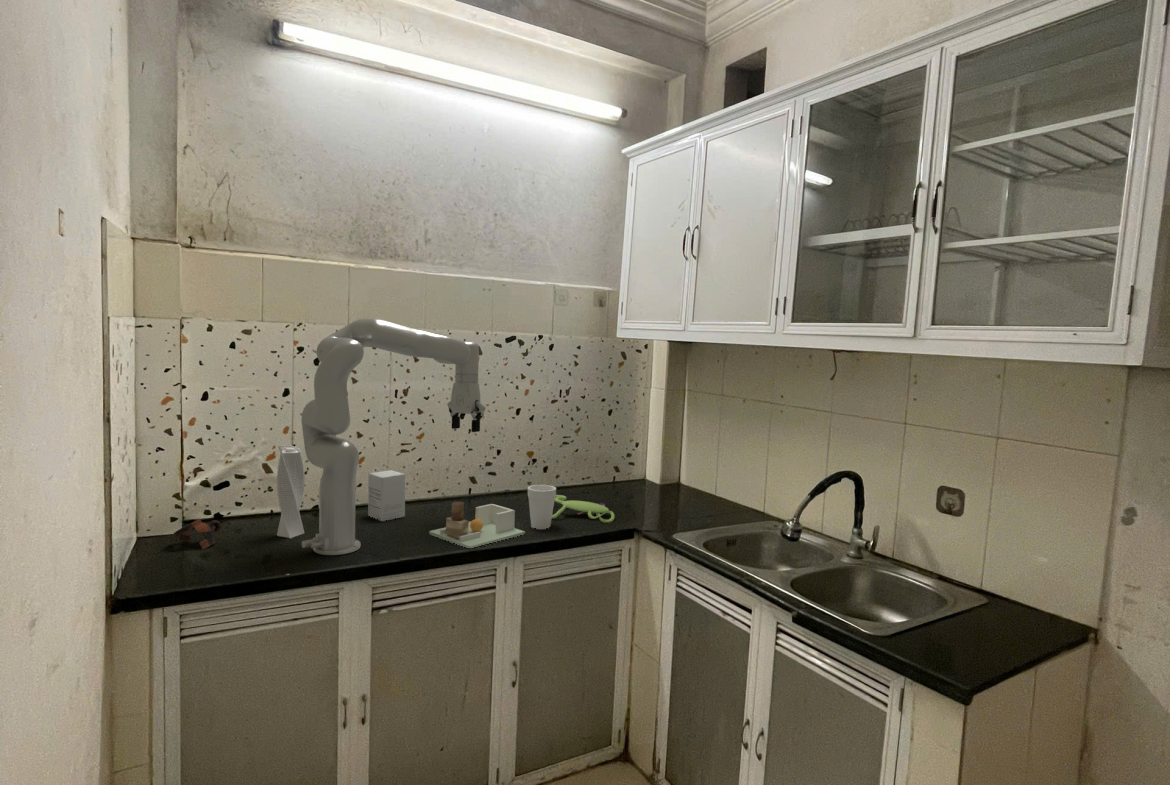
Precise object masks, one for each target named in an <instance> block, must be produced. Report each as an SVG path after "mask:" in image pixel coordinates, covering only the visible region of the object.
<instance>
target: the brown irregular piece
mask: <svg viewBox="0 0 1170 785" xmlns="http://www.w3.org/2000/svg"><path fill="white" fill-rule="evenodd" d="M213 526H214V527H215V528H214V530H213V529H212V527H213ZM194 530H195V531H196V532H197V533H198V534H202V536H203V537H204V539H202V541H199V542H198V544H199V545H200V547H201V549H202V550H204V549H207V548H209V547H210V546H213V545H216V537H217V535H218V534H219V533H220V532H221V530H222V523H221V521H219V520H216V519H214V520H210V521H209V522H206V523H205V522H203V521H202V520H201V519H197V520H194V521H193V522H191V523H188V524H187V525H185V526H183V527H181V528H180V529H179V528H178V530H176V531H174V532H173V535H174V536H175V538H174V542H180V541H183V542H184V543H186V542H188V543H189V542H190V541H191V540H192V538H191V536H192V532H193V531H194Z"/></svg>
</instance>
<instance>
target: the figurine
mask: <svg viewBox="0 0 1170 785" xmlns="http://www.w3.org/2000/svg"><path fill="white" fill-rule="evenodd" d="M554 503H558V504H561V506H562V507H560V508H559V509H558V511H556V513H554V514H552V519H555V518H557V517H559V516H560V515H561V514H562V512H564V511H565V510H566V508H567V509H570V510H575V511H579V512H577V515H581V514H584V513H587V517H588V518H589V519H593V520H594V519H598V518H599V520H600V522H601V523H604V524H605V523H608V524H609V523H612V522H614V520H615V513H614V512H613V511H612V510H610V509H609V508H608V507H606V504H605V503H603V502H597V503H595V502H591V501H583V500H567V496H565V495H561V494H556V496H555V501H554ZM605 514H610V516H611V517H610V518H609V519H604V518H602V516H603V515H605ZM594 515H595V516H594Z"/></svg>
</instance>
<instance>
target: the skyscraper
mask: <svg viewBox="0 0 1170 785" xmlns="http://www.w3.org/2000/svg"><path fill="white" fill-rule="evenodd" d="M278 449H279V452H280V454H279V460H278V466H277V473H276V474H277V475H276V492H277V499H278V504H279V509H280V519H279V524H278V528H277V532H276V536H277V537H282V538H287V539H293V538H295V537H298V536H300V535H304V534H305V530H304V525H303V521H302V518H301V514H300V513H301V512H300V509H301V505H302V503H303V496H304V492H305V483H306V482H305V481H306V480H305V479H306V478H305V467H304V462H303V457H302V452H301V451H302V450H301V447H296V446H294V445H291V444H281V445H278Z"/></svg>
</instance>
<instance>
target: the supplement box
mask: <svg viewBox="0 0 1170 785" xmlns="http://www.w3.org/2000/svg"><path fill="white" fill-rule="evenodd" d="M367 475H368V477H367V478H368V480H367V481H368V482H367V483H368V493H367V494H368V495H367V496H368V499H367V500H368V501H367V502H368V505H367V506H368V507H367V508H368V509H367V510H368V512H367V516H368V517H369V516H370V518H372V517H373V518H372V519H374V518H375V519H374V520H377V519H378V520H377V521H380V522H386V520H387V521H390V520H391V521H392V520H395V518H396V519H400V518H404V517H405V516H406V494H405V493H406V491H405V490H406V474H405V473H403V472H399V471H395V470H392V469H390V470H384V471H383V470H382V471H375V472H370V473H368V474H367Z"/></svg>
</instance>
